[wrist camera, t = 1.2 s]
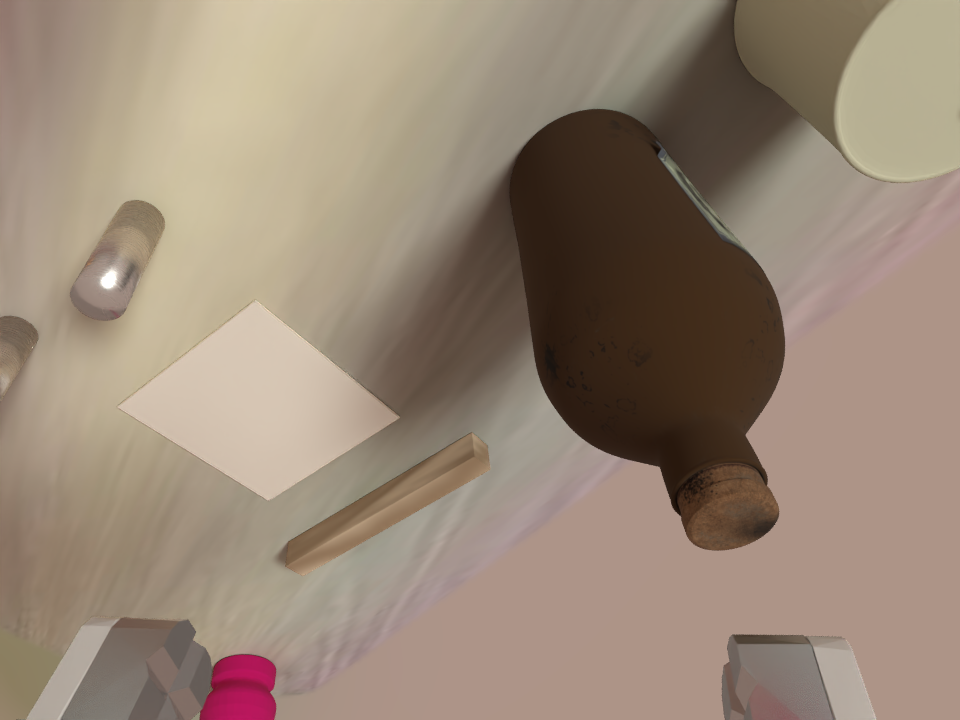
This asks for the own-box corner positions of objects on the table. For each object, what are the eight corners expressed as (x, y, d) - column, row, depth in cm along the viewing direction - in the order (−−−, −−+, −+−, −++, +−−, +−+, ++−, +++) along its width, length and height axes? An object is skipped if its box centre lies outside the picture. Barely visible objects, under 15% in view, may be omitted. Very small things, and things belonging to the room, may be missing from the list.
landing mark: (118, 405, 52) (117, 407, 51) (255, 299, 47) (254, 301, 47) (268, 498, 59) (268, 500, 59) (399, 416, 55) (399, 418, 54)
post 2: (107, 217, 42) (58, 297, 36) (136, 191, 41) (91, 268, 35) (146, 247, 44) (105, 328, 38) (174, 223, 43) (137, 302, 37)
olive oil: (535, 284, 48) (626, 638, 29) (469, 145, 41) (531, 485, 22) (692, 220, 46) (902, 557, 27) (649, 63, 39) (886, 361, 20)
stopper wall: (288, 541, 63) (285, 566, 61) (471, 432, 56) (474, 456, 54) (305, 551, 64) (302, 576, 62) (487, 445, 57) (490, 469, 56)
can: (848, 106, 42) (974, 207, 33) (703, 71, 40) (795, 168, 31) (949, -73, 36) (1135, -13, 27) (787, -124, 34) (929, -77, 25)
